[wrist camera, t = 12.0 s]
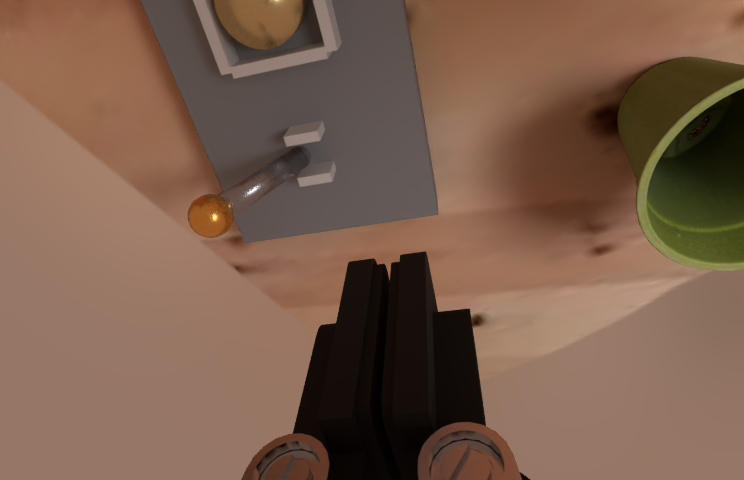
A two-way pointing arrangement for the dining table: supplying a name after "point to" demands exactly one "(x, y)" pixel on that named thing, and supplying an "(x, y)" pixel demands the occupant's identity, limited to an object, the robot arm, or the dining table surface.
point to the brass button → (261, 20)
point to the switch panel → (308, 112)
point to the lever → (244, 193)
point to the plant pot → (689, 160)
